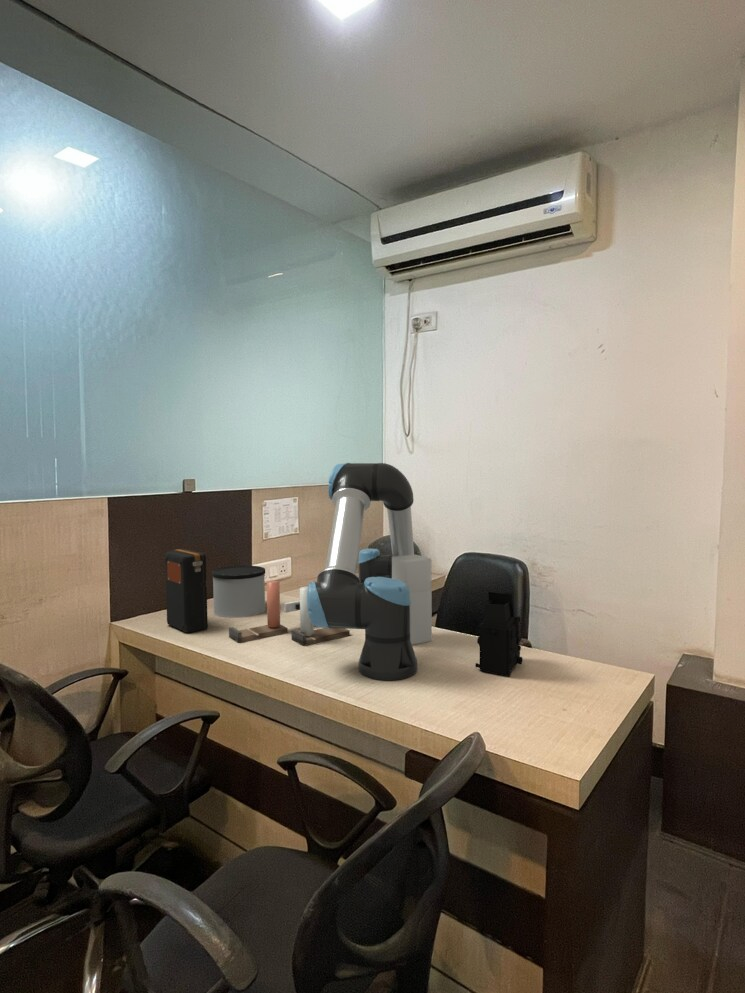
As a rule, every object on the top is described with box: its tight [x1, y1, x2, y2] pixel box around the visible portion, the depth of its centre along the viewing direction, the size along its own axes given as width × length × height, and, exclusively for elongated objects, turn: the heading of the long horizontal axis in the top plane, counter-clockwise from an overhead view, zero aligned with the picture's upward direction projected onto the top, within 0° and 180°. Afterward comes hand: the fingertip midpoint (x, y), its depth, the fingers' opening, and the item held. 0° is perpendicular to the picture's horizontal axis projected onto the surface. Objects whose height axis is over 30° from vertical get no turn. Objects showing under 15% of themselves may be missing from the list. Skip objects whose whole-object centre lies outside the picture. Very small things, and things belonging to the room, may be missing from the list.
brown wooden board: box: [290, 627, 351, 647], centre depth 169 cm, size 16×9×3 cm, turn 126°
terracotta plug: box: [266, 580, 281, 627], centre depth 175 cm, size 4×4×14 cm
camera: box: [474, 589, 524, 677], centre depth 143 cm, size 10×14×20 cm
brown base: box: [228, 623, 289, 644], centre depth 172 cm, size 16×9×3 cm, turn 126°
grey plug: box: [299, 586, 315, 636], centre depth 166 cm, size 4×4×14 cm
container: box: [211, 565, 266, 619], centre depth 201 cm, size 19×19×15 cm
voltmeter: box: [164, 548, 209, 634], centre depth 180 cm, size 16×9×25 cm, turn 45°
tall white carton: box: [391, 553, 433, 646], centre depth 166 cm, size 9×9×25 cm
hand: (285, 607), depth 177 cm, fingers closed
